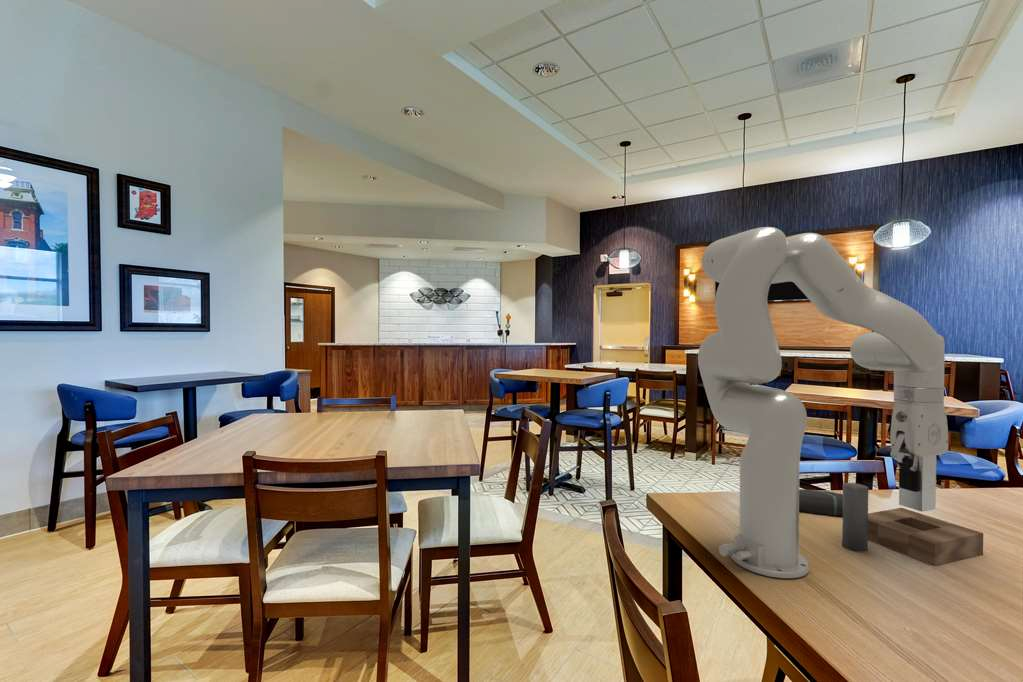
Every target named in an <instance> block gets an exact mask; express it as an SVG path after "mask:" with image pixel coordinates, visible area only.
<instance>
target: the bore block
mask: <svg viewBox="0 0 1023 682" xmlns="http://www.w3.org/2000/svg"><path fill="white" fill-rule="evenodd" d="M868 541H870V542H871V543H875V544H877V545H879V546H882V547H886V548H888V549H890V550H893V551H895V552H898V553H901V554H903V555H906V556H909V557H911V558H914V559H916V560H919V561H921V562H923V563H926V564H929V565H931V566H934V567H937V566H940V565H945V564H949V563H953V562H957V561H961V560H964V559H969V558H972V557H977V556H981V555H983V554H984V532H981V531H979V530H975V529H971V528H968V527H965V526H962V525H958V524H955V523H952V522H949V521H946V520H942V519H939V518H936V517H933V516H929V515H926V514H923V513H920V512H916V511H913V510H912V509H911V510H910V509H906V508H904V507H897V508H891V509H886V510H880V511H879V510H878V511H873V512H868Z"/></svg>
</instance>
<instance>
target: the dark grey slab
mask: <svg viewBox="0 0 1023 682" xmlns="http://www.w3.org/2000/svg"><path fill="white" fill-rule="evenodd" d="M799 510H800V511H799V512H804V511H805V512H804V513H811V514H819V515H825V514H826V515H825V516H835V515H836V516H838V517H843V493H838V492H834V491H833V492H832V491H826V490H818V489H817V490H816V489H806V488H805V489H803V488H799ZM836 516H835V517H836Z"/></svg>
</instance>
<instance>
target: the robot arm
mask: <svg viewBox="0 0 1023 682" xmlns="http://www.w3.org/2000/svg"><path fill="white" fill-rule="evenodd" d="M701 267H702V270H703V272H704V274H705V275H706V277H708V278H709V279H710V280H711V281H714V282H716V283H718V287H717V290H716V293H715V297H714V313H715V314H714V315H715V317H716V318H715V319H716V323H717V327H718V328H717V329H718V331H716V332H714V333H710V334H709V335H708V336H706V338H704V339H703V340H702V342H701V344H700V346H699V349H698V353H697V365H698V369H699V373H700V377H701V380H702V384H703V388H704V390H705V394H706V397H707V401H708V404H709V406H710V410H711V413H712V415H713V417H714V419H715V420H716V421H717V423H718V424H719V425H720V426H722V427H723V428H725V429H727V430H729V431H732V432H735V433H738V434H742V435H745V436H748V439H747V442H746V444H745V446H744V448H743V449H742V452H741V454H740V458H739V520H738V521H739V527H738V528H739V530H738V531H739V532H738V533H736V534H734V540H733V541H732V542H731V543H724V544H720V545H719V546H718V552H719V554H720V555H721V556H722V557H730V558H731V559H732V560H733V562H734V563H735V564H737V565H739V567H742V568H743V569H745V570H747V571H750V572H751V573H752V572H753V573H756V574H758V575H762V576H766V577H771V578H775V579H776V578H777V579H778V578H779V579H796V578H797V579H798V578H802V577H805V576H806V575H807V574H808V573H809V570H810V564H809V563H810V562H809V561H808V559H806V557H805V556H803V554H801V553H800V550H799V549H800V546H799V545H800V511H799V489H800V467H801V466H800V465H801V464H800V461H801V450H802V444H803V440H804V437H805V436H804V435H805V431H806V427H807V420H808V415H807V410H806V408H805V405H804V403H803V402H802V401H801V400H800V398H799V397H797V396H796V395H795V394H792V393H791V392H789V391H786V390H783V389H780V388H776V387H768V386H762V385H752V384H765V383H769V382H771V381H774V380H775V379H777V377H778V376H779V375H780V373H781V371H782V366H783V365H782V355H781V351H780V347H779V344H778V343H779V342H778V340H777V337H776V334H775V333H776V332H775V329H774V325H773V322H772V319H771V314H770V309H769V305H768V296H769V291H770V286H771V285H772V284H780V283H786V282H787V283H789V282H792V283H794V285H795V286H797V288H798V289H799V290H800V291H801V293H803V294H804V295H805V296H806V298H807V299H808V300H809V302H811V304H812V305H813V306H814V307H815V308H816V309H817V310H818V312H819V313H820V314H822V315H823V316H824V317H827V318H829V319H832V320H834V321H836V322H837V321H838V322H841V323H843V324H847V325H852V326H856V327H860V328H863V329H865V330H868V331H869V330H870V331H871V332H867V333H863V334H861V335H859V336H858V337H856V338H855V339H854V340H853V342H852V343H851V345H850V348H849V349H850V356H851V358H852V360H853V361H854V363H856V364H857V365H859V366H860V367H862V368H865V369H867V370H868V369H869V370H873V371H874V370H875V371H888V372H891V371H893V402H894V404H893V408H892V409H893V410H892V414H891V423H890V424H891V425H890V447H891V451H890V457H891V458H893V459H894V460H895V462H896V464H897V465H896V466H897V468H898V488H899V487H900V488H903V489H906V490H910V491H913V492H918V491H919V471H916V470H917V463H918V457H924V456H933V455H936V469H937V467H938V460H939V458H940V456H941V455H944V454H946V453H947V452H948V450H949V427H948V418H947V412H946V407H945V356H946V354H945V351H946V350H945V345H946V344H945V338H944V337H943V336H942V335H941V334H940V333H939V334H938V333H937V332H936V330H935V329H934V328H933V327H932V326H931V324H930V323H929V321H927V320H926V318H925V317H924V316H923V315H922V314H920V312H918V311H917V310H916V309H914V308H913V307H911V306H910V305H908V304H906V303H904V302H902V301H900V300H897V298H896V299H895V298H894V297H892V296H889V295H888V294H885V293H884V292H881V291H879V290H877V289H875V288H872V287H870V286H868V285H867V284H866V283H865V282H864V281H863V279H861V278H860V276H859V275H858V274H857V273H856V271H855V270H853V268H852V267H851V266H850V264H849V263H848V262H847V261H846V260H845V258H844V257H843V256H842V255H841V254H840V253H839V251H838V250H837V249H836V248H835V247H834V246H833V245H832V243H831V242H830V240H828V239H827V238H826V237H825V236H823V235H822V234H819V233H816V232H815V233H814V232H804V233H799V234H794V235H791V236H787V237H786V234H785V233H784V231H782V230H781V229H779V228H776V227H774V226H772V227H771V226H763V227H761V226H760V227H757V228H752V229H748V230H746V231H742V232H739V233H736V234H733V235H730V236H726V237H723V238H719V239H718V240H714V241H713V242H711V243H710V244H709V245H708V246H707V247H706V248H705V250H704V251H703V253H702V256H701ZM905 450H908V451H909V452H910V453H913V454H909V453H905ZM905 456H908V457H911V462H910V460H909V459H908V458H907V457H905Z"/></svg>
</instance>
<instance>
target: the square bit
mask: <svg viewBox="0 0 1023 682" xmlns="http://www.w3.org/2000/svg"><path fill="white" fill-rule="evenodd" d="M905 453H909V454H913V453H910V452H909V451H908V450H905ZM905 457H907V458H908V459H909V460H910V462H911V457H908V456H905ZM916 471H919V491H918V492H913V491H910V490H906V489H903V488H900V487H899V486H898V489H899V491H898V506H899V505H900V506H902V507H905V508H909V509H911V510H915V511H918V512H928V511H932V510H933V511H934V510H936V504H937V503H936V497H937V495H936V494H937V493H936V492H937V468H936V455H933V456H924V457H918V463H917V470H916Z"/></svg>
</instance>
